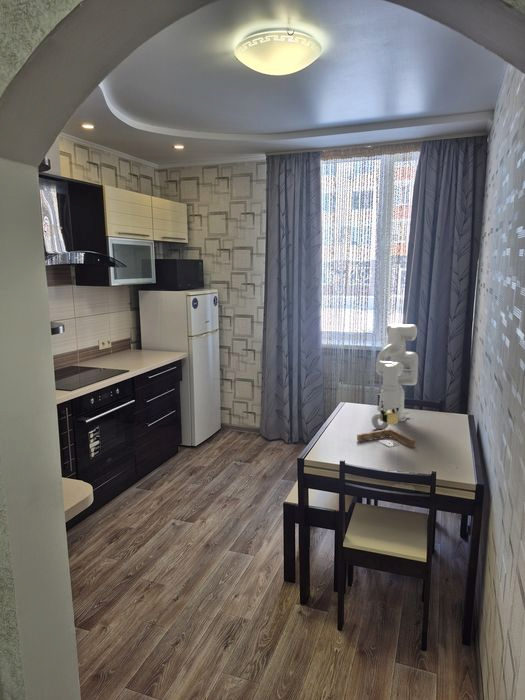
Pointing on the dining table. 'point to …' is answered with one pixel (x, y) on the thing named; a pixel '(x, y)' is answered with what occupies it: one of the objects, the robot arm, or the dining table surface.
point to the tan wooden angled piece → (386, 433)
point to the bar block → (390, 417)
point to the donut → (376, 424)
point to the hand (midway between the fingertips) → (388, 420)
